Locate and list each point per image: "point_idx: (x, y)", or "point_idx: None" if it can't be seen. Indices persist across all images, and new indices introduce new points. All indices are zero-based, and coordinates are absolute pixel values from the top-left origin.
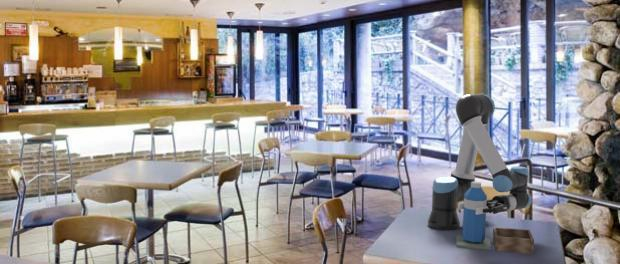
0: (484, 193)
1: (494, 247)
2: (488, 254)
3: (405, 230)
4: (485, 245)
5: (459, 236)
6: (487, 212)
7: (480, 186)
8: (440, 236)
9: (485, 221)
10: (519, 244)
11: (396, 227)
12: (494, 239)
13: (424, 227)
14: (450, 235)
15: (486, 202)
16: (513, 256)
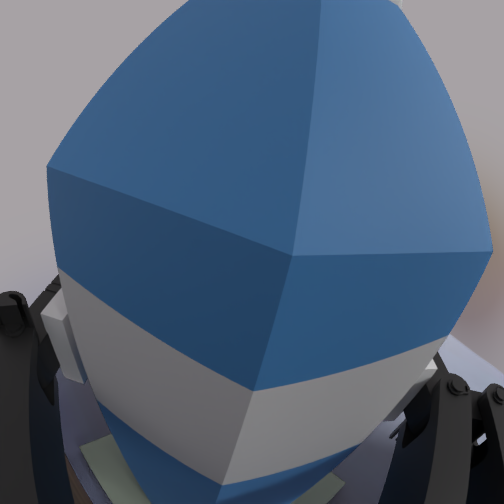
0: (109, 85)
1: (81, 486)
2: (69, 387)
3: (454, 366)
4: (117, 461)
5: (320, 481)
6: (65, 369)
7: None
8: (376, 430)
9: (130, 468)
10: None
11: (478, 361)
12: (82, 499)
13: (485, 436)
14: (377, 479)
15: (69, 317)
16: None
